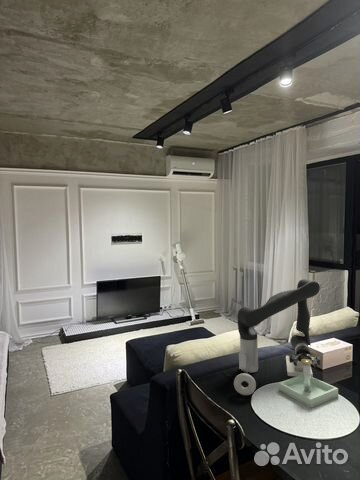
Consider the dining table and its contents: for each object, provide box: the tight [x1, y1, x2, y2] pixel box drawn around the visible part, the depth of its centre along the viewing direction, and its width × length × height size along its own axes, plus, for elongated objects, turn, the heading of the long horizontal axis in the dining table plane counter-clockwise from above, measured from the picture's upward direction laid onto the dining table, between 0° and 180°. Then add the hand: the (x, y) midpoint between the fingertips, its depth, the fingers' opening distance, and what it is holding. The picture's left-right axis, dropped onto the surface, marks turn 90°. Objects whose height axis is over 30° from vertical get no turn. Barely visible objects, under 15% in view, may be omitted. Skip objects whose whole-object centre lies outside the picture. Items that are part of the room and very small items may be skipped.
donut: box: [233, 372, 257, 396], centre depth 149 cm, size 10×3×10 cm, turn 77°
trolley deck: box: [285, 355, 314, 377], centre depth 176 cm, size 22×12×2 cm, turn 164°
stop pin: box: [301, 359, 313, 392], centre depth 149 cm, size 5×5×14 cm
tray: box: [278, 374, 339, 409], centre depth 149 cm, size 18×18×4 cm
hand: (305, 365), depth 156 cm, fingers open, 8 cm apart
